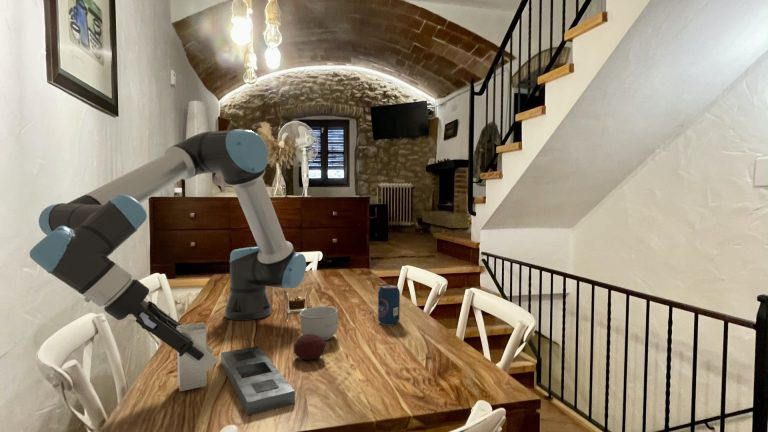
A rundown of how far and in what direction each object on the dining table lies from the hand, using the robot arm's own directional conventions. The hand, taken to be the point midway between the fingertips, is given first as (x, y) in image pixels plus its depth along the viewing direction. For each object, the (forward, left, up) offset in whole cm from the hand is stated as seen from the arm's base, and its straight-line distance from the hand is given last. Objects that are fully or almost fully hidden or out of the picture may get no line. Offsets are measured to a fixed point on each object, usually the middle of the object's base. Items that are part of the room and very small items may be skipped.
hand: (210, 360), depth 88 cm
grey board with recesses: (+3, +8, -5) cm, 10 cm away
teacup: (-17, +32, -6) cm, 37 cm away
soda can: (-18, +56, -5) cm, 59 cm away
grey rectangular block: (0, -4, -4) cm, 6 cm away
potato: (-3, +23, -6) cm, 24 cm away
